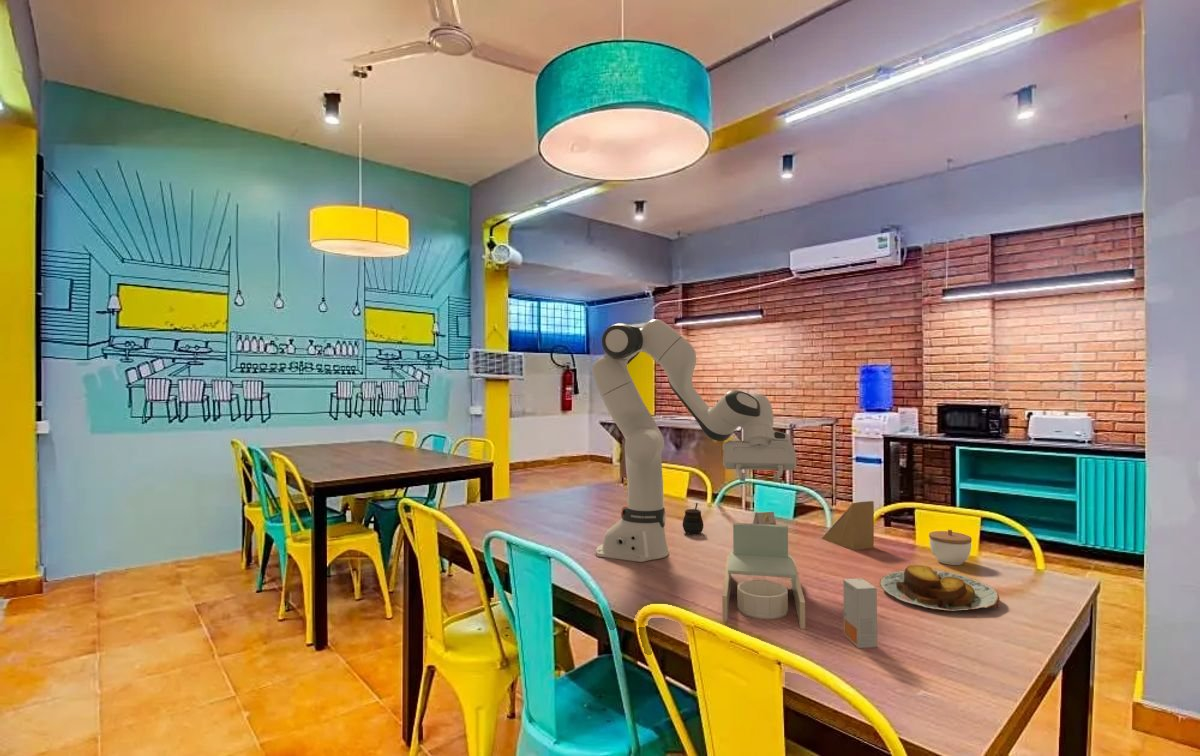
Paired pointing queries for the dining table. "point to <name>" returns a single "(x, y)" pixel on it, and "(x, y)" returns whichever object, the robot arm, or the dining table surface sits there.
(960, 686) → the dining table surface
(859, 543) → the sandwich container
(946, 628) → the dining table surface
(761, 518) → the tea bag
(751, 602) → the bowl stand
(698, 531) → the mate gourd
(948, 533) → the lidded jar
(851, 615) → the skincare box
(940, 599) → the food on plate
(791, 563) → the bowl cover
